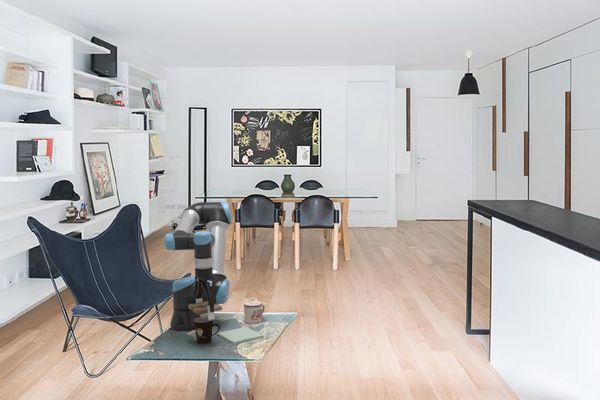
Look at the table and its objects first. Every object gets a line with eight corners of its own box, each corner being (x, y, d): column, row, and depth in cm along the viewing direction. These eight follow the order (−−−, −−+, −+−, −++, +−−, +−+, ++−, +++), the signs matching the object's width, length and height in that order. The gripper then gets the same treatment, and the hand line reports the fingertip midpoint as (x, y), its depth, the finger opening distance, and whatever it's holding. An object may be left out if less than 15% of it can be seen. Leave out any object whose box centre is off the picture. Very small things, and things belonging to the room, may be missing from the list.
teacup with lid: (252, 325, 282) (251, 301, 281) (240, 321, 289) (239, 298, 288) (270, 319, 291) (270, 296, 290) (258, 316, 297) (258, 293, 296)
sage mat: (217, 335, 268) (217, 333, 268) (246, 328, 277) (245, 326, 276) (234, 344, 255) (234, 342, 255) (263, 337, 263) (263, 335, 263)
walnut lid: (188, 308, 259) (188, 304, 259) (210, 303, 265) (210, 300, 265) (198, 314, 250) (198, 311, 250) (222, 310, 256) (222, 306, 256)
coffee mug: (190, 341, 260) (189, 319, 259) (207, 337, 266) (206, 315, 265) (205, 348, 251) (204, 325, 250) (221, 343, 257) (221, 320, 256)
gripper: (184, 263, 263) (186, 311, 265) (207, 273, 244) (209, 324, 246) (199, 261, 267) (201, 308, 269) (223, 270, 248) (225, 320, 250)
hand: (205, 316), depth 258 cm, fingers closed on walnut lid, 11 cm apart
